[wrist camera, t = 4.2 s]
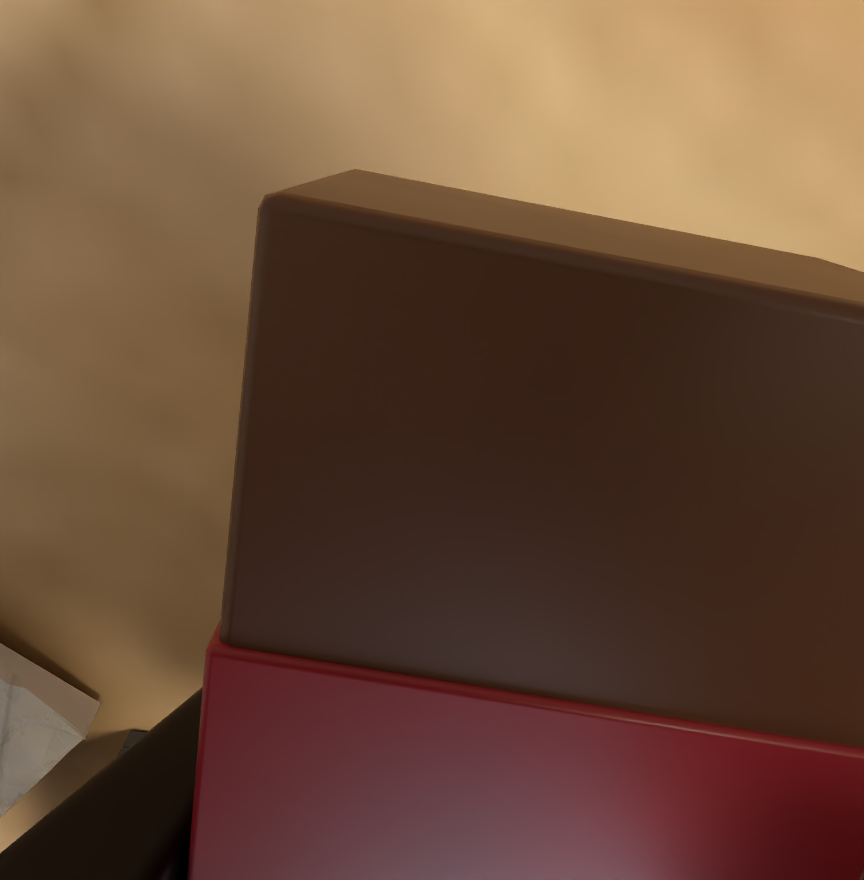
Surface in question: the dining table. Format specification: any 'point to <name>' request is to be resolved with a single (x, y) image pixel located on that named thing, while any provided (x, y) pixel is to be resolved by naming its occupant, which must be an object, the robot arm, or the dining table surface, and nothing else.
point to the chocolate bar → (536, 552)
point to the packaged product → (36, 724)
